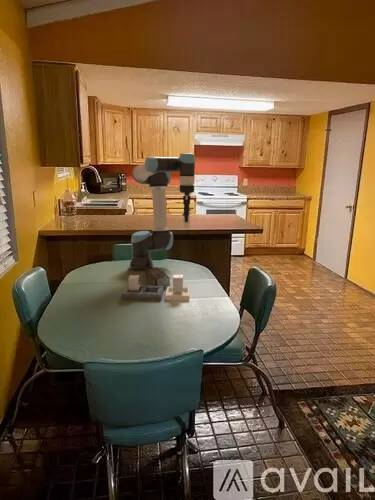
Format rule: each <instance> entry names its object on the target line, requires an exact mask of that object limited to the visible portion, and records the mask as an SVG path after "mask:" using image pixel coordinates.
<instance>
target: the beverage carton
mask: <svg viewBox="0 0 375 500" xmlns="http://www.w3.org/2000/svg"><path fill="white" fill-rule="evenodd" d="M145 278H146V280H147V281H149V282H150V283H151V284H152V286H164V288H167V287H171V285H170V282H171V281H170V279H171V278H170V276H169V275H167V274H166V273H165V272H164V271H163V270H162V269H160V268H159V267H153V268H149V269H145Z"/></svg>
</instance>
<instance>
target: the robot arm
mask: <svg viewBox="0 0 375 500" xmlns="http://www.w3.org/2000/svg"><path fill="white" fill-rule="evenodd" d="M195 164H196V159H195V154H194V153H190V152H187V153H186V152H184V153H183V152H182V153H180V154H179V156H174V157H173V156H170V157H169V156H167V157H164V156H162V157H161V156H147V157H146V158H145V160H144V163H143V164H139V165H136V166H135V167H134V168H133V169H132V171H131V176H132V179H133V180H134V181H135V182H136V183H138V184H140V185H148V186H149V188H150V189H151V194H152V195H151V196H152V211H153V212H152V217H153V228H152V229H151V232H150V231H148V230H140V231H137V232H134V233H133V234H131V239H130V240H131V241H130V243H131V257H130V258H131V259H130V262H129V269H130V270H132V271H135V272H144V271H145V269H149V268H154V262H153V260H152V257H151V252H155V251H156V252H157V251H166V250H170V249H171V248H172V247H173V243H174V235H173V232H172V231H170V228H169V227H168V219H167V218H168V216H167V198H166V195H167V194H166V189H167V188H168V186H169V184H170V183H171V180H172V179H171V173H179V177H178V180H179V184H180V185H179V193H181V194H182V193H183V194H184V195H183V196H182V201H183V213H182V216H183V229H190V214H191V213H190V212H191V211H192V210H191V208H190V205H191V200H192V199H191V195H190V194H194V193H195V185H194V184H195V166H196V165H195Z"/></svg>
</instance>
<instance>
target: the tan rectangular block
mask: <svg viewBox="0 0 375 500" xmlns="http://www.w3.org/2000/svg"><path fill="white" fill-rule="evenodd" d="M172 287H173V295H183V287H184V274H173V275H172Z"/></svg>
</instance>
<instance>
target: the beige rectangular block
mask: <svg viewBox="0 0 375 500" xmlns="http://www.w3.org/2000/svg"><path fill="white" fill-rule="evenodd" d="M140 276H141V275H139V274H135V275H134V274H129V276H128V285H129V292H140V285H141V277H140Z"/></svg>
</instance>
